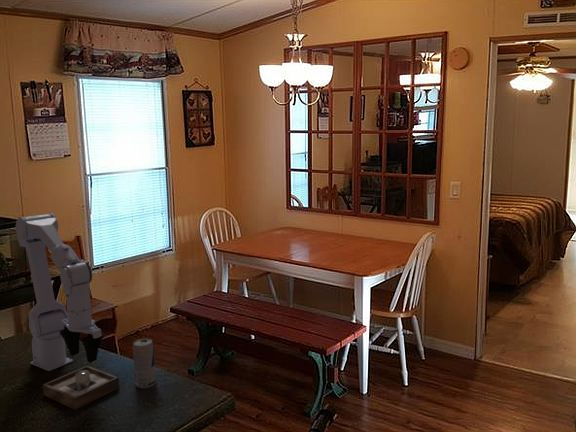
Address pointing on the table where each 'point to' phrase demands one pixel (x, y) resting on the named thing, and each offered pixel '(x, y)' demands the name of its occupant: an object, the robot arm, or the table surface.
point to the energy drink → (144, 363)
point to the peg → (82, 380)
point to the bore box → (68, 396)
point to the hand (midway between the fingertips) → (83, 357)
